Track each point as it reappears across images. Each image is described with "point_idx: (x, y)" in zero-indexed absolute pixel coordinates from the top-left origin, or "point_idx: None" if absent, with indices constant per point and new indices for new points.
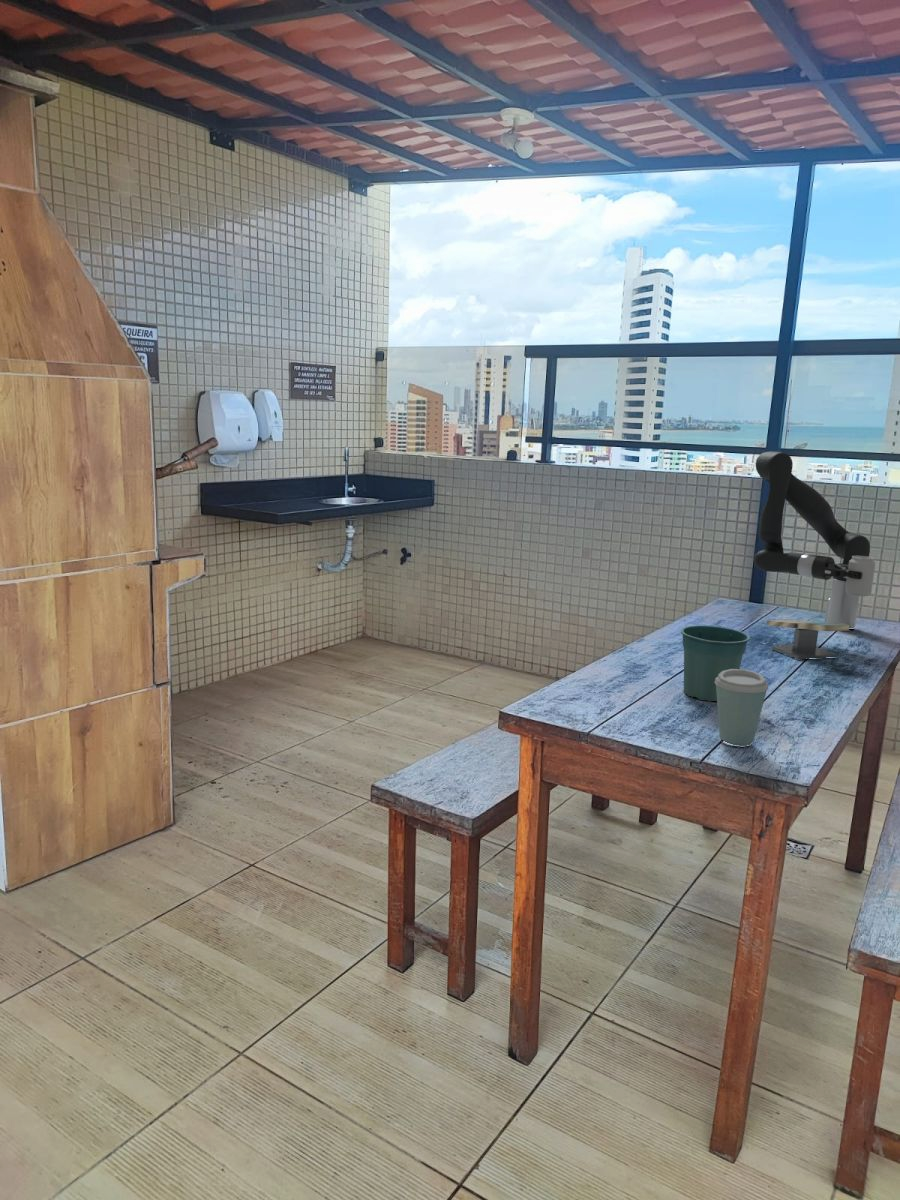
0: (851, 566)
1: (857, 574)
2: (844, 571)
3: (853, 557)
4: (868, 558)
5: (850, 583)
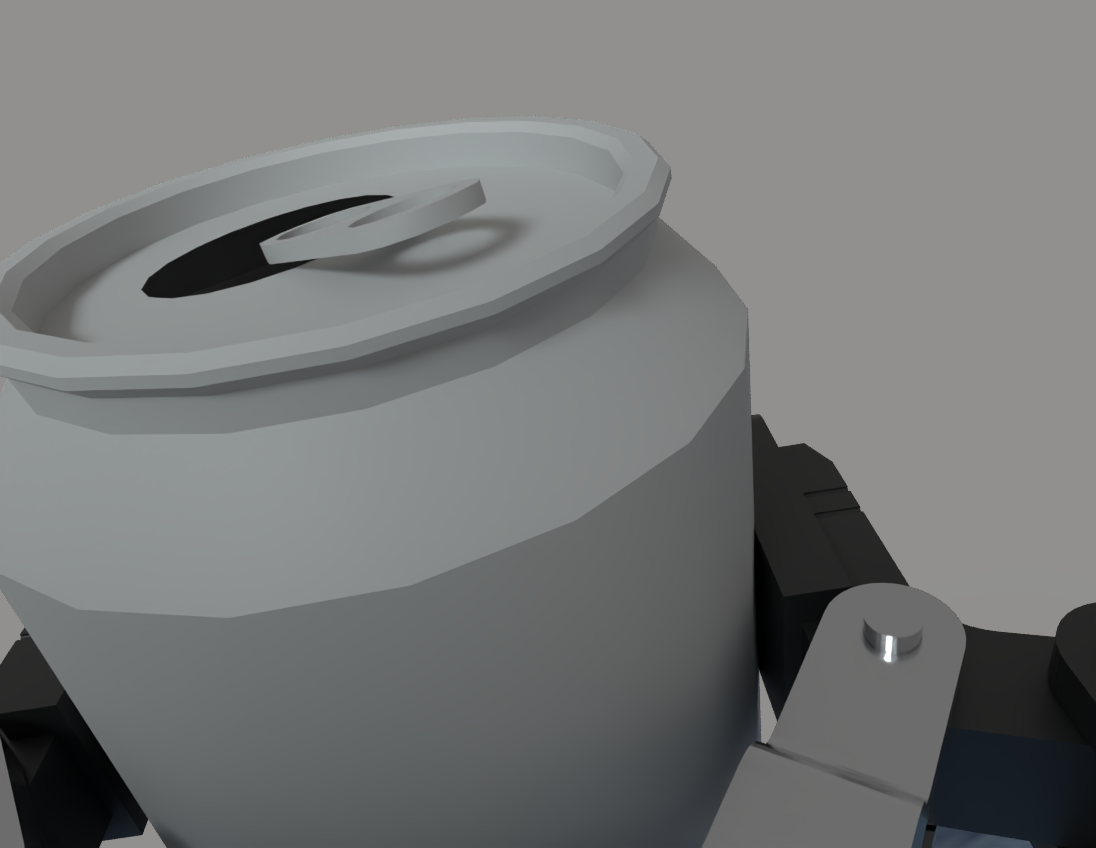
0: (742, 504)
1: (818, 474)
2: (1068, 635)
3: (625, 229)
4: (112, 266)
5: None
